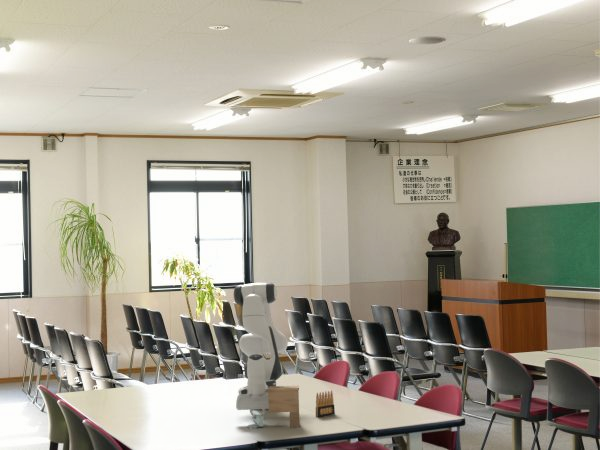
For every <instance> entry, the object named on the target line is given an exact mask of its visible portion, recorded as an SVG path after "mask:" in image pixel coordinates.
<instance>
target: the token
mask: <svg viewBox="0 0 600 450" xmlns="http://www.w3.org/2000/svg"><path fill="white" fill-rule="evenodd" d="M258 427H259V425H257V423H252V424H248V425H247V429H249V428H256V429H258ZM259 428H260V427H259Z"/></svg>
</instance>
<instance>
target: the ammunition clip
mask: <svg viewBox="0 0 600 450" xmlns="http://www.w3.org/2000/svg"><path fill="white" fill-rule="evenodd" d="M335 413H336V411H335V404H334V393H333V390H328V391H327V390H326V391H325V392H324V391H322V392H321V391H320V392H317V393H316V401H315V418H318V419H320V418H324V416H325V417H330V416H336V414H335Z"/></svg>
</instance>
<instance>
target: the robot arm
mask: <svg viewBox="0 0 600 450" xmlns="http://www.w3.org/2000/svg"><path fill="white" fill-rule="evenodd" d="M232 294H233V295H232V298H233V300H234V302H235V304H236V305H238V306H240V307H241V308H242V318H241V319H242V325H243V328H244V330H245V331H246V332H247V333H245V334H242V335H241V337H239V338H240V339H239V341H238V347H239V349H240V351H241V353H243V354H244V355H246V356H247V361H246V362H245V364H244V365H243V368H244V377H245V378H246V379H247V385H246V386H243V387H240V388H239V389H238V393H237V394H238V395H237V397H236V402H235V403H236V405H235V408H236V410H237V411H245V410H247V411H248V410H249V413H250V415H251V417H252V418H251V419H252V420H253V419H255V415H254V414H253V411H254V410H261V411H262V413H259V414H260V415H261V416H262V417H263V418H264V415H265V413H266V410H269V398H268V387H270V386H277V380H279V379H280V378H281V377H282V376H283V366H282V362H281V361H280V355H279V354H280V353H283V352H285V351H286V350H287V348H288V344H289V342H288V338H287V336H286V335H285V334H284V333H283V332H281V331H280V330H279V329H278V328H277V327H276V326H275V324H274V322H273V319H272V314H271V308H270V304H272V303H274V302H275V301H276V299H277V295H278V291H277V287H276V286H275V284H274V283H273V282H254V283H245V284H238V285H236V286H235V287H234V289H233V292H232ZM265 354H267V355H268V354H269V356H270V358H269V359H267V358H265V356H264V355H265Z"/></svg>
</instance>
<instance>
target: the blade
mask: <svg viewBox="0 0 600 450" xmlns="http://www.w3.org/2000/svg"><path fill="white" fill-rule="evenodd" d="M252 413H253V414H254V415H255V419H252V420H253V422H254V423H255V424H257V425H259V428H260V427H264V416H263V417H262V416H261V415H260V414H261V413H260V412H258V410H253V412H252Z"/></svg>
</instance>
